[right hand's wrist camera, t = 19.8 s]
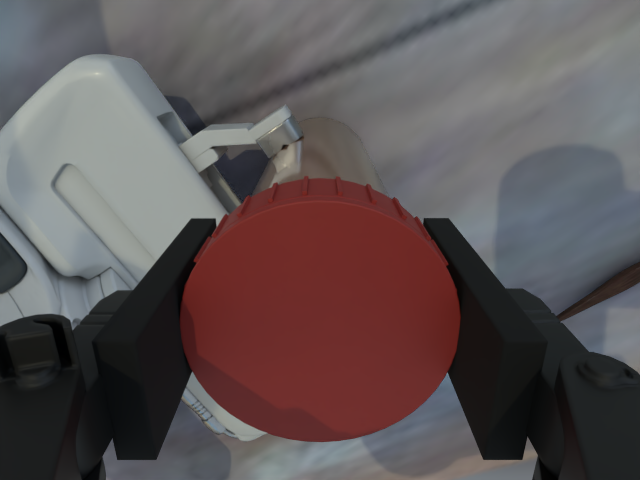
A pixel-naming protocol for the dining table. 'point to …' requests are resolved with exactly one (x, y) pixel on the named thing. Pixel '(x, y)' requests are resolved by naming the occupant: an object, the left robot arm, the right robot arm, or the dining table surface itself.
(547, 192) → the dining table surface
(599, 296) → the fork
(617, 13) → the dining table surface
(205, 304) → the lid
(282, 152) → the jar
